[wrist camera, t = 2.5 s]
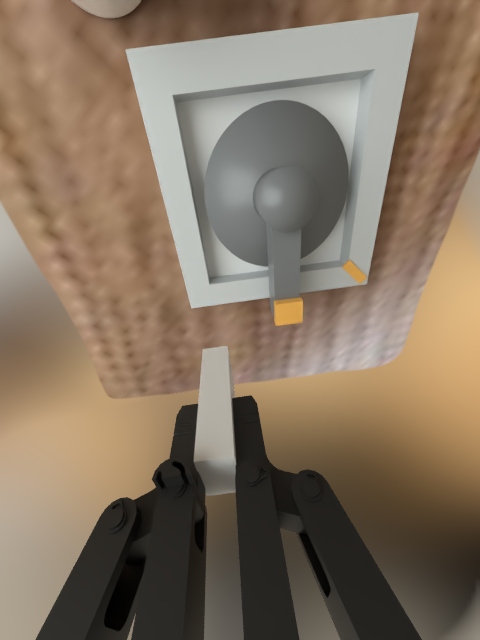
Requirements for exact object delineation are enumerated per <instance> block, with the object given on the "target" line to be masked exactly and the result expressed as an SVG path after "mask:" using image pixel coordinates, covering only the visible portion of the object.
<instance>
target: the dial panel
mask: <svg viewBox="0 0 480 640" xmlns="http://www.w3.org/2000/svg"><path fill="white" fill-rule="evenodd" d="M418 14H419V13H411V14H403V15H395V16H387V17H379V18H371V19H363V20H355V21H347V22H339V23H332V24H324V25H316V26H308V27H300V28H292V29H284V30H276V31H268V32H260V33H252V34H244V35H236V36H228V37H220V38H212V39H204V40H196V41H188V42H180V43H173V44H165V45H157V46H149V47H141V48H133V49H126V53H127V57H128V61H129V65H130V69H131V73H132V77H133V81H134V85H135V89H136V93H137V96H138V100H139V104H140V108H141V112H142V116H143V120H144V124H145V128H146V132H147V136H148V140H149V144H150V148H151V151H152V155H153V159H154V163H155V167H156V171H157V175H158V179H159V183H160V187H161V191H162V195H163V199H164V202H165V206H166V210H167V214H168V218H169V222H170V226H171V230H172V234H173V238H174V242H175V246H176V250H177V253H178V257H179V261H180V265H181V269H182V273H183V277H184V281H185V285H186V289H187V293H188V297H189V301H190V305H191V308H197V307H204V306H211V305H219V304H226V303H233V302H240V301H248V300H255V299H262V298H270V294H269V274H268V267H264V266H258V265H254V264H251V263H248V262H245V261H243V260H241V259H239V258H238V257H236V256H235V255H233V254H232V253H231V252H230V251H229V250H228V249H227V248H226V247H225V246H224V245H223V244H222V243H221V242H220V240H219V239H218V237H217V236H216V234H215V232H214V230H213V228H212V226H211V224H210V221H209V218H208V215H207V211H206V206H205V197H204V184H205V175H206V170H207V166H208V162H209V159H210V157H211V154H212V151H213V149H214V147H215V145H216V143H217V141H218V140H219V138H220V137H221V135H222V134H223V132H224V131H225V130H226V128H227V127H228V126H229V125H230V124H231V123H232V122H233V121H234V120H235V119H236V118H237V117H239V116H240V115H241V114H242V113H244V112H246V111H247V110H249V109H251V108H252V107H254V106H257V105H259V104H262V103H265V102H269V101H274V100H290V101H297V102H300V103H303V104H306V105H308V106H310V107H312V108H314V109H316V110H317V111H318V112H320V113H321V114H322V115H324V116H325V117H326V118H327V119H328V121H329V122H330V123H331V124H332V125H333V127H334V128H335V130H336V131H337V133H338V134H339V136H340V138H341V141H342V143H343V145H344V149H345V152H346V155H347V161H348V170H349V182H348V191H347V197H346V201H345V204H344V208H343V210H342V213H341V215H340V218H339V220H338V222H337V224H336V225H335V227H334V229H333V230H332V232H331V233H330V235H329V236H328V237H327V238H326V239H325V241H324V242H323V243H322V244H321V245H320V246H319V247H318V248H317V249H315V250H314V251H313V252H312V253H310V254H309V255H307V256H306V257H304V258H302V259H300V293H306V292H313V291H320V290H328V289H335V288H342V287H349V286H357V285H364V284H367V280H368V275H369V270H370V265H371V259H372V254H373V249H374V244H375V239H376V233H377V228H378V223H379V218H380V213H381V207H382V202H383V197H384V192H385V186H386V181H387V176H388V171H389V166H390V160H391V155H392V150H393V145H394V139H395V134H396V129H397V124H398V119H399V113H400V108H401V103H402V98H403V93H404V87H405V82H406V77H407V72H408V66H409V61H410V56H411V51H412V46H413V40H414V35H415V30H416V25H417V19H418Z"/></svg>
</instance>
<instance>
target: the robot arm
mask: <svg viewBox="0 0 480 640" xmlns="http://www.w3.org/2000/svg"><path fill="white" fill-rule="evenodd" d="M152 480H153V482H154V483H155V485H156V488H155V489H153V490H152V491H150V492H149V493H147V494H145V495H143V496H141V497H139V498H137V499H135V500H132V499H130V498H127V497H126V498H120V499H118V500H116V501H114V502H112V503H111V504H110V505H109V506H108V507H107V508H106V509H105V510H104V512H103V513H102V515H101V516H100V518H99V520H98V522H97V524H96V526H95V527H94V530H93V531H92V533H91V535H90V537H89V539H88V541H87V543H86V545H85V547H84V548H83V550H82V552H81V554H80V556H79V558H78V560H77V562H76V564H75V566H74V567H73V570H72V571H71V573H70V575H69V577H68V579H67V581H66V583H65V585H64V586H63V588H62V590H61V592H60V594H59V596H58V598H57V600H56V602H55V604H54V606H53V607H52V609H51V611H50V613H49V615H48V617H47V619H46V621H45V623H44V625H43V626H42V628H41V630H40V632H39V634H38V636H37V638H36V640H127V637H128V634H129V632H130V628H131V625H132V622H133V619H134V616H135V613H136V616H135V622H134V627H133V633H132V639H131V640H204V614H205V613H204V611H205V577H206V575H205V574H206V537H207V509H206V506H205V491H206V494H207V496H211V495H217V494H224V493H231V492H236V504H237V524H238V541H239V559H240V576H241V592H242V593H241V594H242V611H243V629H244V640H299V635H298V629H297V624H296V618H295V612H294V607H293V601H292V596H291V590H290V584H289V578H288V573H287V567H286V561H285V556H284V550H283V545H282V539H281V533H280V528H283V529H286V530H290V531H294V532H296V534H297V537H298V539H299V541H300V544H301V546H302V549H303V551H304V553H305V556H306V558H307V561H308V563H309V565H310V568H311V570H312V572H313V575H314V577H315V580H316V582H317V584H318V587H319V589H320V592H321V594H322V596H323V599H324V601H325V603H326V606H327V608H328V611H329V613H330V615H331V618H332V620H333V623H334V625H335V627H336V630H337V632H338V635H339V637H340V639H341V640H422V639H421V638H420V636H419V634H418V633H417V631H416V629H415V628H414V626H413V624H412V623H411V621H410V619H409V618H408V616H407V614H406V613H405V611H404V609H403V607H402V606H401V604H400V602H399V601H398V599H397V597H396V596H395V594H394V592H393V591H392V589H391V588H390V586H389V584H388V583H387V581H386V579H385V578H384V576H383V574H382V572H381V571H380V569H379V568H378V566H377V564H376V563H375V561H374V559H373V557H372V556H371V554H370V553H369V551H368V549H367V547H366V546H365V544H364V542H363V541H362V539H361V537H360V536H359V534H358V533H357V531H356V529H355V527H354V526H353V524H352V522H351V521H350V519H349V517H348V516H347V514H346V512H345V511H344V509H343V507H342V506H341V504H340V502H339V501H338V499H337V497H336V496H335V494H334V492H333V490H332V489H331V487H330V486H329V484H328V482H327V481H326V480H325V479H324V477H323V476H322V475H320V474H319V473H317V472H315V471H312V470H303V471H300V472H299V473H298V474H294V473H289V472H284V471H282V470H279V469H277V468H276V467H274V466H273V465H272V464H271V463H270V462H269V460H268V458H267V455H266V452H265V446H264V441H263V435H262V429H261V424H260V418H259V412H258V407H257V403H256V402H255V400H254V398H253V397H252V396H244V397H237V398H235V394H234V382H233V374H232V368H231V363H230V357H229V352H228V346H223V347H216V348H209V349H203V353H202V366H201V378H200V390H199V403H198V404H192V405H186V406H182V408H181V410H180V411H179V413H178V414H177V418H176V424H175V430H174V436H173V441H172V448H171V453H170V459H168V460H166V461H164V462H163V463H162V464H160V466H159V467H158V468H157V469H156V471H155V473H154V475H153V478H152ZM136 610H137V611H136Z"/></svg>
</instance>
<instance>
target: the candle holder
mask: <svg viewBox="0 0 480 640" xmlns="http://www.w3.org/2000/svg"><path fill="white" fill-rule="evenodd" d="M71 1H72V2H73V3H74V4H76V5H77V6H78V7H80V8H81V9H83V10H85V11H86V12H88V13H90V14H93V15H95V16H98V17H102V18H118V17H122V16H124V15H127V14H128V13H130V12H131V11H133V10H134V9H135V8H136V7H137V6H138V5H139V4H140V2H141V1H142V0H71Z"/></svg>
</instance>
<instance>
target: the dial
mask: <svg viewBox="0 0 480 640" xmlns="http://www.w3.org/2000/svg"><path fill="white" fill-rule="evenodd" d="M348 182H349V170H348V161H347V155H346V152H345V149H344V145H343V143H342V141H341V138H340V136H339V134H338V133H337V131H336V130H335V128H334V127H333V125H332V124H331V123H330V122H329V121H328V119H327V118H326V117H325V116H324V115H322V114H321V113H320V112H318V111H317V110H316V109H314V108H312V107H310V106H308V105H306V104H303V103H300V102H297V101H290V100H274V101H269V102H265V103H262V104H259V105H257V106H254V107H252V108H251V109H249V110H247V111H246V112H244V113H242V114H241V115H240V116H239V117H237V118H236V119H235V120H234V121H233V122H232V123H231V124H230V125H229V126H228V127H227V128H226V130H225V131H224V132H223V134H222V135H221V137H220V138H219V140H218V141H217V143H216V145H215V147H214V149H213V151H212V154H211V157H210V159H209V162H208V166H207V170H206V175H205V184H204V197H205V206H206V211H207V215H208V218H209V221H210V224H211V226H212V228H213V230H214V232H215V234H216V236H217V237H218V239H219V240H220V242H221V243H222V244H223V245H224V246H225V247H226V248H227V249H228V250H229V251H230V252H231V253H232V254H233V255H235V256H236V257H238V258H239V259H241V260H243V261H245V262H248V263H251V264H254V265H258V266H264V267H268V274H269V294H270V308H271V311H272V313H273V316H274V318H275V323H276V326H279V325H286V324H293V323H301V322H302V316H303V300H302V299H301V297H299V296H300V259H302V258H304V257H306V256H307V255H309V254H310V253H312V252H313V251H314V250H315V249H317V248H318V247H319V246H320V245H321V244H322V243H323V242H324V241H325V239H326V238H327V237H328V236H329V235H330V233H331V232H332V230H333V229H334V227H335V225H336V224H337V222H338V220H339V218H340V215H341V213H342V210H343V208H344V204H345V201H346V197H347V191H348Z"/></svg>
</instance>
